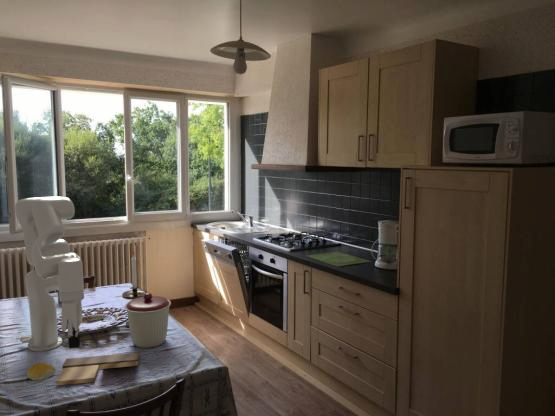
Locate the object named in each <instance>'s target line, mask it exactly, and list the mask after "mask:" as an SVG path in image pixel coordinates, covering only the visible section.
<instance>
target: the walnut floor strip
mask: <svg viewBox="0 0 555 416" xmlns="http://www.w3.org/2000/svg"><path fill="white" fill-rule="evenodd" d="M139 360H140V352H131V353H128V352H127V353H118V354H117V353H116V354H107V355H106V354H104V355H95V356H83V357H70V358H65V360H64V362H63V364H62V369H63V368H70V367H81V366H92V365H99V364H110V363H121V362H133V361H138V363H139V362H140V361H139Z"/></svg>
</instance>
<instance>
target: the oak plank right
mask: <svg viewBox="0 0 555 416" xmlns="http://www.w3.org/2000/svg"><path fill="white" fill-rule="evenodd" d="M135 366H136V367H137V366H139V362H138V361H133V362H121V363H110V364H99V370H102V369H103V370H104V369H113V368H114V369H115V368H125V367H135Z"/></svg>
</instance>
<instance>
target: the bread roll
mask: <svg viewBox="0 0 555 416" xmlns="http://www.w3.org/2000/svg"><path fill="white" fill-rule="evenodd" d="M55 371H56V369H55V367H54V365H50V364H48V363H46V362H37V363H34V364H33V365H31V366H30V367H29V368H28V369H27V373H26V377H27V378H28V379H29V380H31V381H43V380H45V379H48V378H51V377H52V376H53V375H54V374H55Z"/></svg>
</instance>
